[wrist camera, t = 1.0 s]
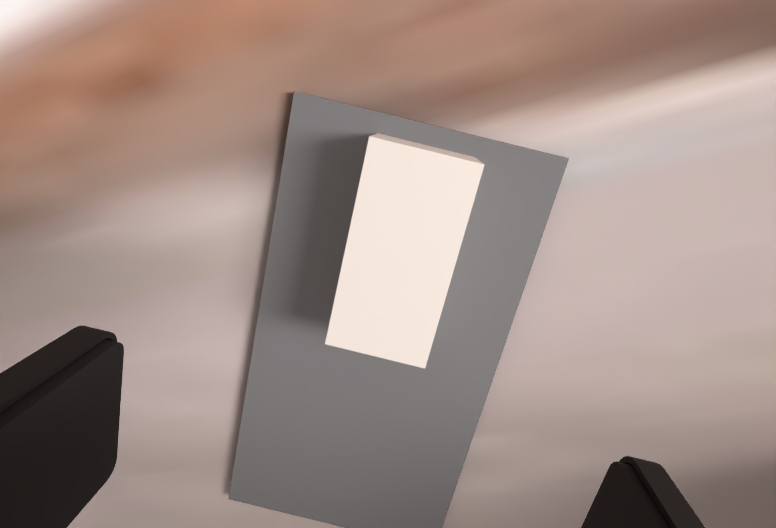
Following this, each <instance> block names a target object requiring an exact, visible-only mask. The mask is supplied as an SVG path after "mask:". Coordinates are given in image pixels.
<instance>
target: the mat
mask: <svg viewBox="0 0 776 528" xmlns="http://www.w3.org/2000/svg"><path fill="white" fill-rule="evenodd" d="M377 133H379V134H383V135H387V136H391V137H395V138H399V139H403V140H407V141H411V142H415V143H420V144H424V145H428V146H432V147H436V148H440V149H444V150H448V151H452V152H456V153H460V154H464V155H469V156H473V157H475V158H477V159H478V160H479V161H481V162H482V163H483V164H485V165H484V168H483V172H482V175H481V179H480V182H479V186H478V189H477V192H476V196H475V199H474V203H473V206H472V210H471V213H470V216H469V220H468V223H467V227H466V230H465V234H464V237H463V240H462V244H461V247H460V251H459V254H458V258H457V261H456V264H455V268H454V271H453V275H452V278H451V282H450V285H449V288H448V292H447V295H446V299H445V302H444V306H443V309H442V312H441V316H440V319H439V323H438V326H437V330H436V333H435V336H434V340H433V343H432V347H431V350H430V354H429V357H428V360H427V364H426V367H425V368H421V367H416V366H412V365H408V364H404V363H400V362H396V361H392V360H388V359H384V358H380V357H376V356H371V355H367V354H363V353H359V352H355V351H351V350H347V349H343V348H339V347H335V346H331V345H327V344H325V341H326V337H327V332H328V327H329V323H330V318H331V313H332V309H333V304H334V299H335V294H336V290H337V285H338V280H339V276H340V271H341V266H342V262H343V257H344V252H345V248H346V243H347V238H348V233H349V229H350V224H351V219H352V215H353V210H354V205H355V201H356V196H357V191H358V187H359V182H360V177H361V173H362V168H363V163H364V158H365V154H366V149H367V144H368V140H369V136H371V135H374V134H377ZM567 162H568V158H565V157H561V156H557V155H553V154H548V153H544V152H540V151H536V150H532V149H528V148H524V147H520V146H516V145H512V144H508V143H504V142H500V141H495V140H491V139H487V138H483V137H479V136H475V135H471V134H467V133H463V132H459V131H455V130H451V129H446V128H442V127H438V126H434V125H430V124H426V123H422V122H418V121H414V120H410V119H406V118H402V117H397V116H393V115H389V114H385V113H381V112H377V111H373V110H369V109H365V108H361V107H357V106H353V105H349V104H344V103H340V102H336V101H332V100H328V99H324V98H320V97H316V96H312V95H308V94H304V93H300V92H295V91H294V95H293V101H292V107H291V114H290V120H289V126H288V132H287V138H286V145H285V151H284V157H283V163H282V169H281V176H280V182H279V188H278V194H277V200H276V207H275V213H274V219H273V225H272V232H271V238H270V244H269V250H268V256H267V263H266V269H265V275H264V281H263V287H262V294H261V300H260V306H259V312H258V318H257V325H256V331H255V337H254V343H253V349H252V356H251V362H250V368H249V374H248V381H247V387H246V393H245V399H244V405H243V412H242V418H241V424H240V430H239V436H238V443H237V449H236V455H235V461H234V467H233V474H232V480H231V486H230V492H229V499H231V500H235V501H239V502H243V503H247V504H251V505H255V506H260V507H264V508H268V509H272V510H276V511H280V512H284V513H288V514H292V515H296V516H300V517H305V518H309V519H313V520H317V521H321V522H325V523H329V524H333V525H337V526H341V527H345V528H442V525H443V522H444V519H445V516H446V513H447V511H448V508H449V505H450V502H451V499H452V496H453V493H454V490H455V487H456V484H457V482H458V479H459V476H460V473H461V470H462V467H463V464H464V461H465V458H466V455H467V452H468V450H469V447H470V444H471V441H472V438H473V435H474V432H475V429H476V426H477V423H478V421H479V418H480V415H481V412H482V409H483V406H484V403H485V400H486V397H487V394H488V392H489V389H490V386H491V383H492V380H493V377H494V374H495V371H496V368H497V365H498V363H499V360H500V357H501V354H502V351H503V348H504V345H505V342H506V339H507V336H508V334H509V331H510V328H511V325H512V322H513V319H514V316H515V313H516V310H517V307H518V305H519V302H520V299H521V296H522V293H523V290H524V287H525V284H526V281H527V278H528V276H529V273H530V270H531V267H532V264H533V261H534V258H535V255H536V252H537V249H538V247H539V244H540V241H541V238H542V235H543V232H544V229H545V226H546V223H547V220H548V218H549V215H550V212H551V209H552V206H553V203H554V200H555V197H556V194H557V191H558V189H559V186H560V183H561V180H562V177H563V174H564V171H565V168H566V165H567Z"/></svg>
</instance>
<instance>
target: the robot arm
mask: <svg viewBox="0 0 776 528" xmlns="http://www.w3.org/2000/svg"><path fill="white" fill-rule="evenodd" d="M123 355H124V347H123V345H122V344H121V343H119V342H117V338H116V336H115V334H113V333H112V332H108V331H104V330H99V329H95V328H91V327H87V326H78V327H76V328H74V329H72V330H71V331H69V332H67V333H66V334H64V335H62V336H61V337H59V338H57V339H56V340H54V341H53V342H51V343H49V344H48V345H46V346H44V347H43V348H41V349H39V350H38V351H36V352H35V353H33V354H31V355H30V356H28V357H26V358H25V359H23V360H22V361H20V362H18V363H17V364H15V365H13V366H12V367H10V368H8V369H7V370H5V371H4V372H2V373H0V528H67V526H68V525H69V524H70V523H71V522H72V521H73V520H74V518H75V517H76V516H77V515H78V514H79V513H80V511H81V510H82V509H83V508H84V507H85V506H86V504H87V503H88V502H89V501H90V500H91V499H92V497H93V496H94V495H95V494H96V493H97V492H98V490H99V489H100V488H101V487H102V486H103V485H104V483H105V482H106V481H107V480H108V478H109V477H110V475H111V474H112V472H113V469H114V467H115V464H116V459H117V447H118V431H119V416H120V401H121V386H122V370H123ZM581 528H705V527H704V526H703V524H702V523H701V521H700V520H699V518H698V517H697V516H696V514H695V513H694V511H693V510H692V508H691V507H690V506H689V504H688V503H687V501H686V500H685V498H684V497H683V495H682V494H681V493H680V491H679V490H678V488H677V487H676V485H675V484H674V482H673V481H672V480H671V478H670V477H669V475H668V474H667V472H666V471H665V469H664V468H663V467H662V466H661V465H660V464H657V463H654V462H650V461H646V460H642V459H638V458H634V457H629V456H626V457H623V458H622V459H621V460H620V461H619V462H613V463H612V464H611V465H610V467H609V469H608V471H607V473H606V475H605V478H604V480H603V482H602V484H601V486H600V488H599V491H598V493H597V495H596V497H595V499H594V501H593V504H592V506H591V508H590V510H589V512H588V514H587V516H586V519H585V521H584V523H583V525H582V527H581Z"/></svg>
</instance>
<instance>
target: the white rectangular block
mask: <svg viewBox="0 0 776 528" xmlns="http://www.w3.org/2000/svg"><path fill="white" fill-rule="evenodd" d="M484 165H485V164H483V163H482V162H481V161H479V160H478V159H477V158H475V157H473V156H469V155H464V154H460V153H456V152H452V151H448V150H444V149H440V148H436V147H432V146H428V145H424V144H420V143H415V142H411V141H407V140H403V139H399V138H395V137H391V136H387V135H383V134H379V133H377V134H374V135H371V136H369V140H368V144H367V149H366V154H365V158H364V163H363V168H362V173H361V177H360V182H359V187H358V191H357V196H356V201H355V205H354V210H353V215H352V219H351V224H350V229H349V233H348V238H347V243H346V248H345V252H344V257H343V262H342V266H341V271H340V276H339V280H338V285H337V290H336V294H335V299H334V304H333V309H332V313H331V318H330V323H329V327H328V332H327V337H326V341H325V344H327V345H331V346H335V347H339V348H343V349H347V350H351V351H355V352H359V353H363V354H367V355H371V356H376V357H380V358H384V359H388V360H392V361H396V362H400V363H404V364H408V365H412V366H416V367H421V368H425V367H426V364H427V360H428V357H429V354H430V350H431V347H432V343H433V340H434V336H435V333H436V330H437V326H438V323H439V319H440V316H441V312H442V309H443V306H444V302H445V299H446V295H447V292H448V288H449V285H450V282H451V278H452V275H453V271H454V268H455V264H456V261H457V258H458V254H459V251H460V247H461V244H462V240H463V237H464V234H465V230H466V227H467V223H468V220H469V216H470V213H471V210H472V206H473V203H474V199H475V196H476V192H477V189H478V186H479V182H480V179H481V175H482V172H483V168H484Z"/></svg>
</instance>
